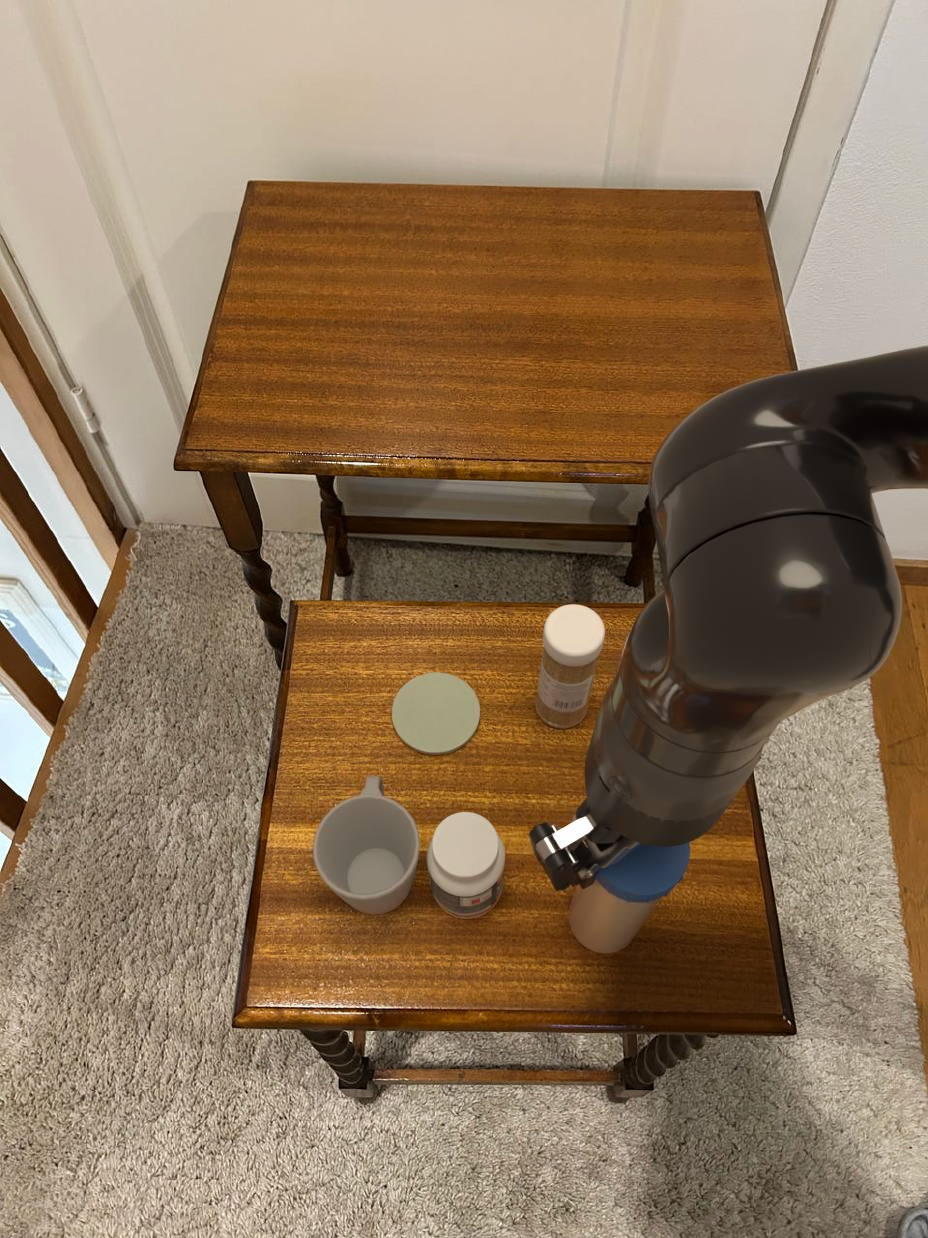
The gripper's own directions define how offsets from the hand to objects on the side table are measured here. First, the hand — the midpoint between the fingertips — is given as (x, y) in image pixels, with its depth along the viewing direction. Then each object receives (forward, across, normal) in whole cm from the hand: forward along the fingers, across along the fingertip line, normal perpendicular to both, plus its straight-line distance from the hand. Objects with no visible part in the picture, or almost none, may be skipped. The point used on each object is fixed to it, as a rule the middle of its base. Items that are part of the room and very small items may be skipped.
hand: (621, 849), depth 59 cm
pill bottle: (+15, +8, -6) cm, 18 cm away
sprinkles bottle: (+15, -6, -16) cm, 23 cm away
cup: (+15, +13, -11) cm, 23 cm away
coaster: (+15, +3, -20) cm, 25 cm away
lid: (-3, 0, +1) cm, 3 cm away
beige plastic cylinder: (+15, 0, +1) cm, 15 cm away
